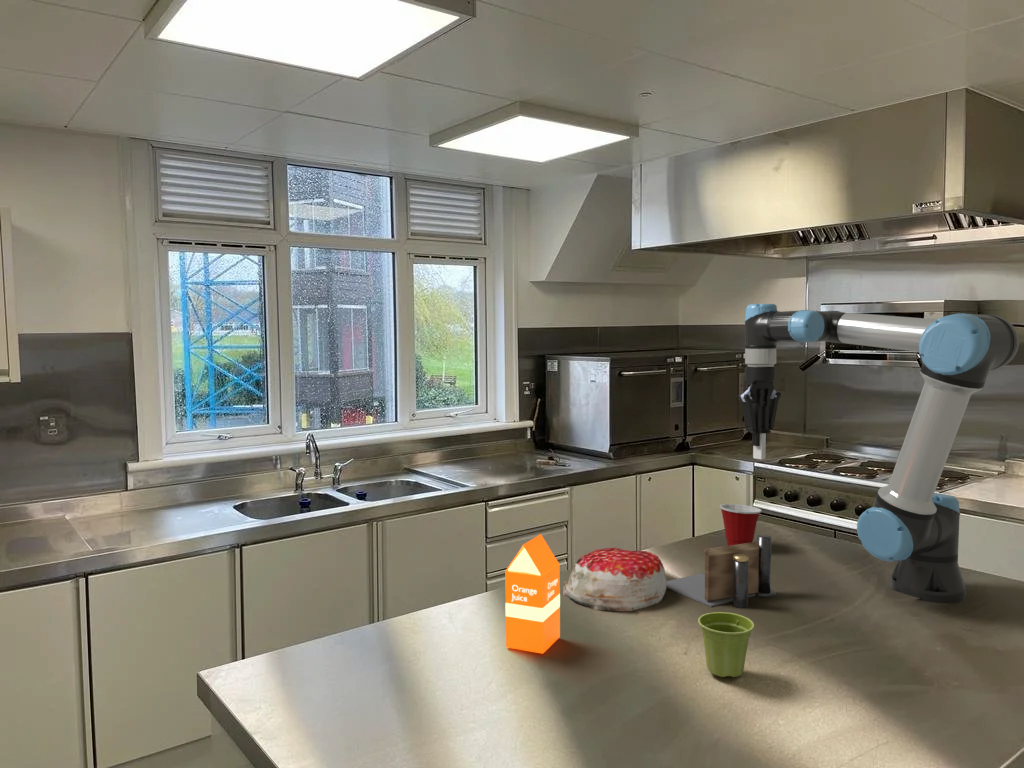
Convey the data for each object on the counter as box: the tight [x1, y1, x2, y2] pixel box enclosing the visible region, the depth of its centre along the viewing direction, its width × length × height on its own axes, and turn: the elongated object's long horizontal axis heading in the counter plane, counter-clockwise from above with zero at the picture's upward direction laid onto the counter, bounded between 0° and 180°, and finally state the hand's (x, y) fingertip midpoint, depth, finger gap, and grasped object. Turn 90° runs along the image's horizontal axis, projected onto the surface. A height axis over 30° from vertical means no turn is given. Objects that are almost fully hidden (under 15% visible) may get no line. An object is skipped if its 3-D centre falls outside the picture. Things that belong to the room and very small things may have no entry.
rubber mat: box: [666, 572, 757, 608], centre depth 177 cm, size 17×17×1 cm
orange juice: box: [504, 533, 561, 654], centre depth 147 cm, size 8×9×20 cm
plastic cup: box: [719, 503, 763, 546], centre depth 207 cm, size 11×11×12 cm
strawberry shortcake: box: [562, 547, 667, 612], centre depth 175 cm, size 23×24×10 cm
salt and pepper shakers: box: [732, 534, 776, 609], centre depth 170 cm, size 7×14×13 cm, turn 120°
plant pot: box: [697, 611, 755, 678], centre depth 134 cm, size 9×9×9 cm
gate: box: [704, 541, 759, 601], centre depth 169 cm, size 14×1×11 cm, turn 113°
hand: (759, 458), depth 196 cm, fingers closed
